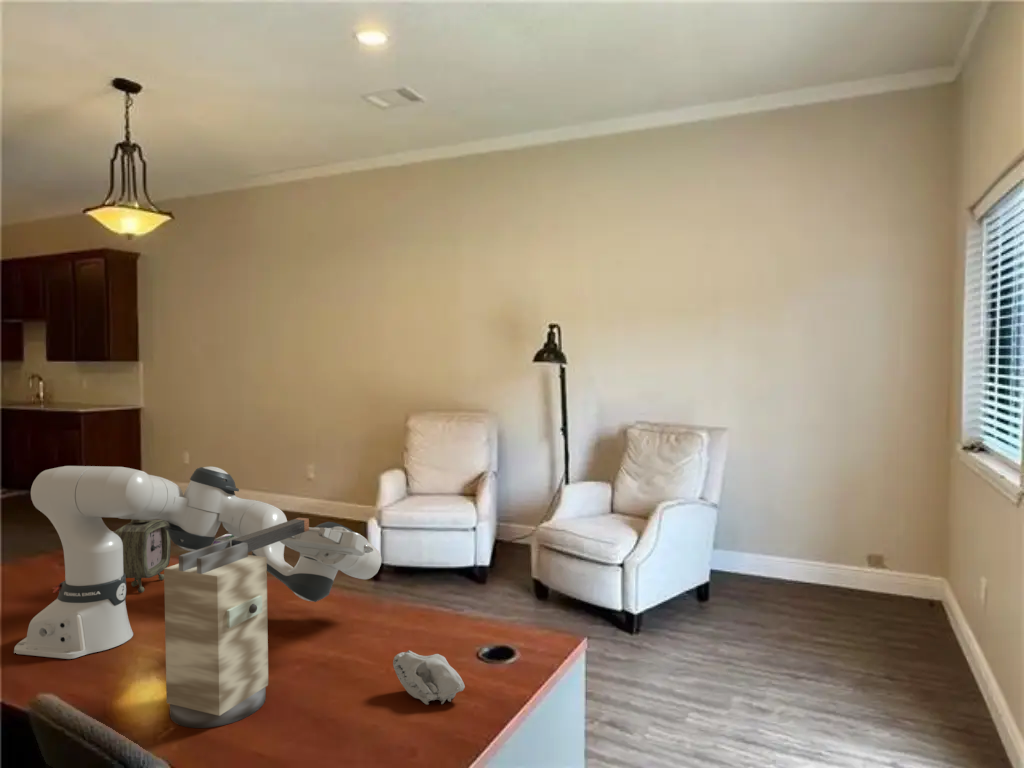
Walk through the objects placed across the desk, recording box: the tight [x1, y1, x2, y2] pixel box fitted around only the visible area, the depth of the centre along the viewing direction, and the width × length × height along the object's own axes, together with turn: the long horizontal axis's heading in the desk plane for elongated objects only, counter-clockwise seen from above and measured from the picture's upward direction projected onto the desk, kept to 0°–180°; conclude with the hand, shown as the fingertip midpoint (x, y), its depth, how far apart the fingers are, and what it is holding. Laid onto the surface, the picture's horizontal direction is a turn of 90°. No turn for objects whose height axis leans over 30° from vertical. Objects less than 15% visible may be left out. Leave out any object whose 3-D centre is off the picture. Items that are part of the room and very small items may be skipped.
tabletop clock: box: [113, 519, 172, 594], centre depth 191 cm, size 14×9×25 cm, turn 179°
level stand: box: [163, 540, 269, 729], centre depth 125 cm, size 16×16×29 cm
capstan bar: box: [231, 517, 310, 553], centre depth 138 cm, size 20×2×2 cm, turn 159°
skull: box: [392, 650, 466, 706], centre depth 129 cm, size 9×10×13 cm
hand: (303, 529), depth 147 cm, fingers open, 8 cm apart
